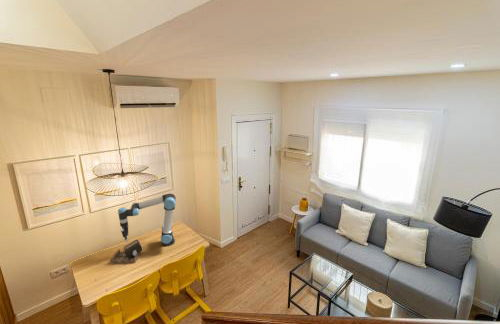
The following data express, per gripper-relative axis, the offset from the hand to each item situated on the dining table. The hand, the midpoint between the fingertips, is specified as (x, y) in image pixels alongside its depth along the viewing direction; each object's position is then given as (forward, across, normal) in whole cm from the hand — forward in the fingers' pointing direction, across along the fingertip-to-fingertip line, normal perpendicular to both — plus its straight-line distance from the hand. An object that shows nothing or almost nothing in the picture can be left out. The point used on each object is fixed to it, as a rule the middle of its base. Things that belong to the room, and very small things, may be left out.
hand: (126, 241), depth 263 cm
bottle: (+12, -9, 0) cm, 15 cm away
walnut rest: (+17, +5, 0) cm, 18 cm away
